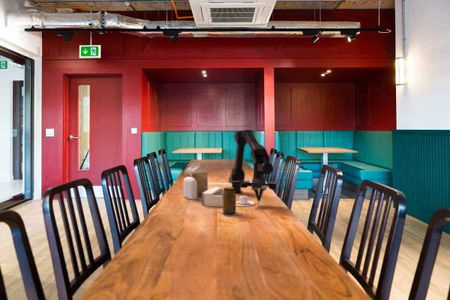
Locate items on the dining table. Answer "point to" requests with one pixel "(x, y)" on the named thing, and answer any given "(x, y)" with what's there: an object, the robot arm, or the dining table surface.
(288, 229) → the dining table surface
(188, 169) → the milk carton
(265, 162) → the robot arm
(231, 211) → the condiment
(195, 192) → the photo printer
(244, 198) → the white ring with cylinder
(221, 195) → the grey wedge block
